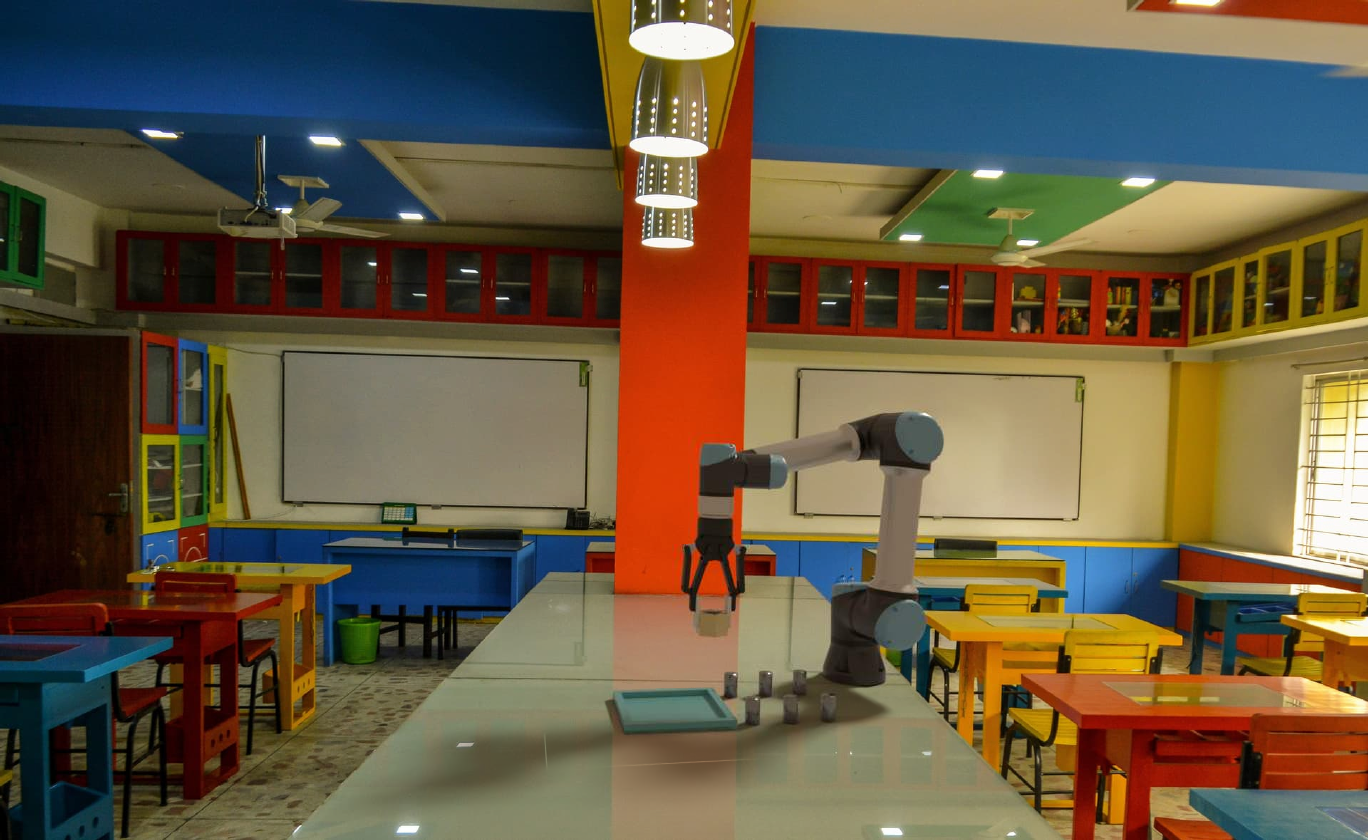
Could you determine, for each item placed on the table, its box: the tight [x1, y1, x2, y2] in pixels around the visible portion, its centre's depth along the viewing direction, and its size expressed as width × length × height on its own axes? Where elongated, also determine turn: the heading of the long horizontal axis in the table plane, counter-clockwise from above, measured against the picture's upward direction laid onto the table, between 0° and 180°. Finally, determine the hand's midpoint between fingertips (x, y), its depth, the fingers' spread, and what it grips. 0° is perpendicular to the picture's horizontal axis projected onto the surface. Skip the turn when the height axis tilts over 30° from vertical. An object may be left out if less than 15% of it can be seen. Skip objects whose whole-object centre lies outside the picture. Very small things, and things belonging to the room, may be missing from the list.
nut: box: [695, 608, 729, 638], centre depth 175 cm, size 6×7×5 cm
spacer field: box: [723, 669, 837, 727], centre depth 178 cm, size 19×21×5 cm
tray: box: [612, 686, 739, 735], centre depth 172 cm, size 22×22×2 cm
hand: (711, 626), depth 175 cm, fingers closed on nut, 6 cm apart
